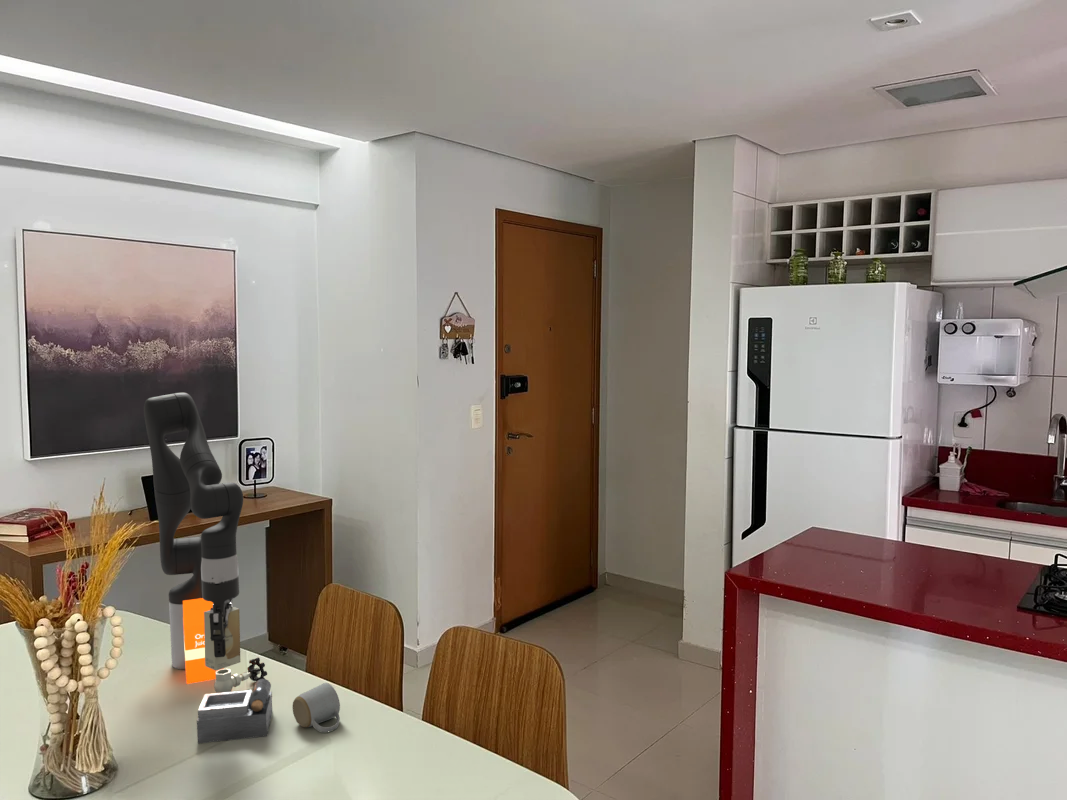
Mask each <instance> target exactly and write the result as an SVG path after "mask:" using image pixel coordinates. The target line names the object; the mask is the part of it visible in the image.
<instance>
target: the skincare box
mask: <svg viewBox="0 0 1067 800" xmlns="http://www.w3.org/2000/svg"><path fill="white" fill-rule="evenodd" d="M230 609H231V610H230V615H229V625H228V628H227V629H226V638H225V644H226V655H225V656H224V657H215V656H214V641H211V639H210V637H211V633H210V618H209V615H210V610H209V611H206V612H204V633H205V666H206V667H208V668H211V669H213V670H215V671H217V670H219V669H222V668H224V669H226V668H229V667H231V666H234V665H236V664H239V663H241V630H240V629H241V627H240V626H241V625H240V621H241V620H240V618H241V617H240V608H238V607H236V606H233V607H232V608H230ZM224 623H225V622H224ZM224 623H223V624H224ZM217 634H220V630H216V635H217Z"/></svg>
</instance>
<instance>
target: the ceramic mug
mask: <svg viewBox="0 0 1067 800" xmlns="http://www.w3.org/2000/svg"><path fill="white" fill-rule="evenodd" d="M340 702H341V701H340V698H339V695H338V693H337V690H336V689H335V688H334V687H333V685H332V684H330V683H328V682H324V683H321V684H319V685H318V686H315V687H313V688H311V689H309V690H307V691H305V692H303V693H300V694H299V695H298V696H296V697H295V698H294V700H293V702H292V713H293V716H294V719H295V721H296V722H297V724H298V725H299V726H300V727H303V728H310V727H313V728H314V729H315V730H316V731H318V732H320V733H323V732H328V731H332V730H334V729H335V730H336V729H338V727H339V725H340V720H341V717H340V710H341V703H340ZM334 718H335V719H336V722H335V724H334V725H331V726H322V725H320V724H321V723H323V722H326V721H329V720H331V719H334ZM335 730H334V731H335ZM332 732H333V731H332ZM328 733H329V732H328Z"/></svg>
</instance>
